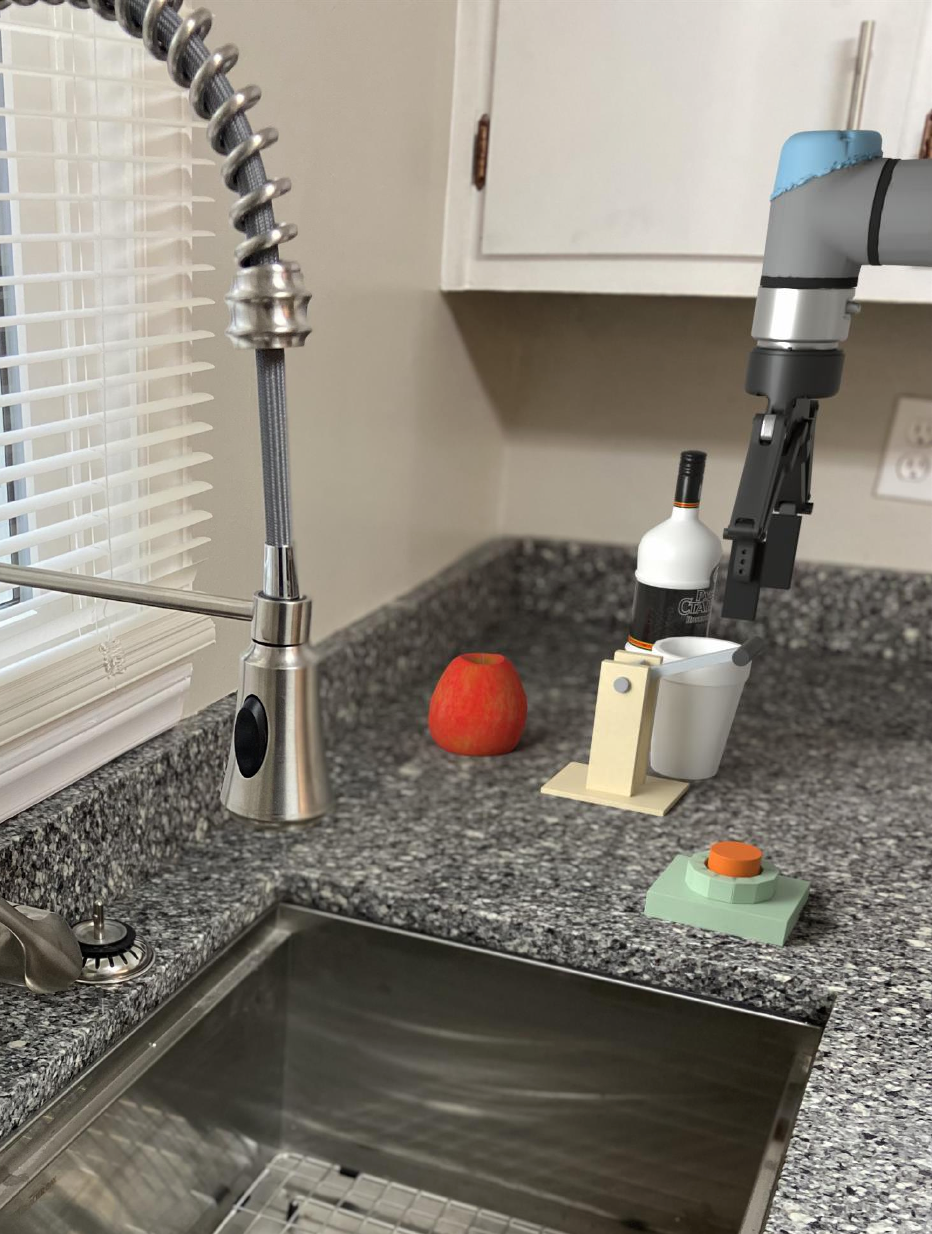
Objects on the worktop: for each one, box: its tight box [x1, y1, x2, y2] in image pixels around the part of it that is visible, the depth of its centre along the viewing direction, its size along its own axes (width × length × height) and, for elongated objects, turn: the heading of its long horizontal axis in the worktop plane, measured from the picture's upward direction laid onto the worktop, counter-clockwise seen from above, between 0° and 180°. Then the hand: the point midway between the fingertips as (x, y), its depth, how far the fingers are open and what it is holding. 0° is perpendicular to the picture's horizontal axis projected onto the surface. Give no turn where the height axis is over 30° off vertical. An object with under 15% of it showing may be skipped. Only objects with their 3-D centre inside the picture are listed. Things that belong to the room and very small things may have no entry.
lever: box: [631, 635, 765, 685], centre depth 137 cm, size 13×6×2 cm, turn 59°
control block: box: [643, 849, 812, 947], centre depth 121 cm, size 11×9×4 cm
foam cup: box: [650, 637, 753, 781], centre depth 148 cm, size 10×9×13 cm
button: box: [707, 840, 763, 878], centre depth 120 cm, size 4×4×2 cm
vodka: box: [624, 449, 723, 654], centre depth 155 cm, size 9×9×30 cm
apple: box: [427, 651, 529, 757], centre depth 156 cm, size 10×10×10 cm
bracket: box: [540, 649, 690, 818], centre depth 142 cm, size 12×9×14 cm
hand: (756, 603), depth 132 cm, fingers open, 13 cm apart
